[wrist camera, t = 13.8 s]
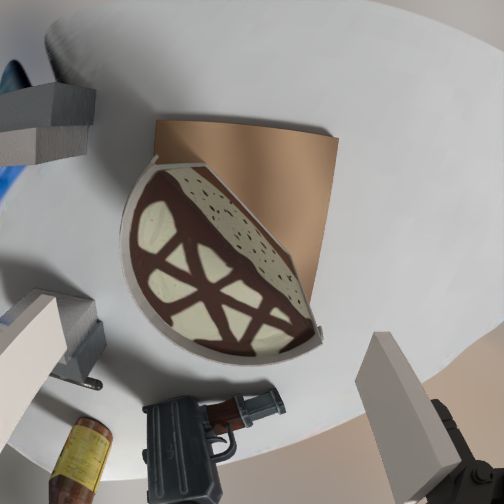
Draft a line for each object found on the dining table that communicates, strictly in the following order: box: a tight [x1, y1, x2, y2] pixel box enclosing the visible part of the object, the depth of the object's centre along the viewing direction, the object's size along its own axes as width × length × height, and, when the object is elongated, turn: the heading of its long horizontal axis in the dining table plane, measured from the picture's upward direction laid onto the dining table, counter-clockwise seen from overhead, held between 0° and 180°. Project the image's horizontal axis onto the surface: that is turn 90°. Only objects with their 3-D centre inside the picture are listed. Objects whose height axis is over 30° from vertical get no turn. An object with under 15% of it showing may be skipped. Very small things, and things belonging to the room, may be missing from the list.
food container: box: [120, 154, 324, 366], centre depth 18 cm, size 12×6×10 cm, turn 42°
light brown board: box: [154, 120, 339, 304], centre depth 24 cm, size 13×17×1 cm
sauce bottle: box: [49, 418, 113, 504], centre depth 26 cm, size 7×6×20 cm
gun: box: [142, 388, 286, 504], centre depth 24 cm, size 3×17×15 cm
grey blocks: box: [0, 82, 106, 391], centre depth 22 cm, size 9×28×7 cm, turn 174°
